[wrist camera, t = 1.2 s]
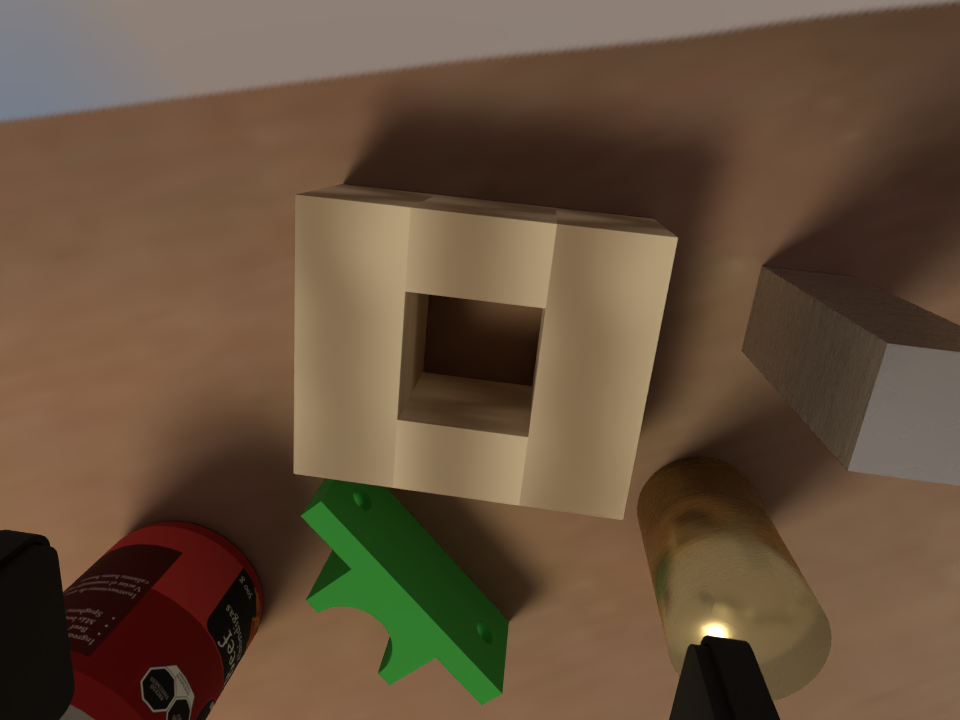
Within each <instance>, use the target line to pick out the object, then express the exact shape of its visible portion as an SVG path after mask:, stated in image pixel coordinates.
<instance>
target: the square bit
mask: <svg viewBox="0 0 960 720" xmlns="http://www.w3.org/2000/svg"><path fill="white" fill-rule="evenodd" d="M742 352H743V353H744V354H745V355H746V356H747V358H748V359H749V360H750V361H751V362H752V363H753V364H754V365H755V367H756V368H757V369H758V370H759V371H760V372H761V373H762V375H763V376H764V377H765V378H766V379H767V380H768V381H769V382H770V384H771V385H772V386H773V387H774V388H775V389H776V390H777V391H778V393H779V394H780V395H781V396H782V397H783V398H784V399H785V401H786V402H787V403H788V404H789V405H790V406H791V407H792V408H793V410H794V411H795V412H796V413H797V414H798V415H799V416H800V418H801V419H802V420H803V421H804V422H805V423H806V424H807V425H808V427H809V428H810V429H811V430H812V431H813V432H814V433H815V434H816V436H817V437H818V438H819V439H820V440H821V441H822V442H823V444H824V445H825V446H826V447H827V448H828V449H829V450H830V451H831V453H832V454H833V455H834V456H835V457H836V458H837V459H838V460H839V462H840V463H841V464H842V465H843V466H844V467H845V468H846V470H847V471H853V472H861V473H868V474H875V475H883V476H890V477H898V478H905V479H913V480H920V481H928V482H935V483H943V484H950V485H958V486H960V325H958V324H956V323H953V322H951V321H949V320H947V319H945V318H943V317H940V316H938V315H936V314H934V313H932V312H930V311H927V310H925V309H923V308H921V307H919V306H917V305H914V304H912V303H910V302H908V301H906V300H904V299H901V298H899V297H897V296H895V295H893V294H891V293H888V292H886V291H884V290H882V289H880V288H878V287H876V286H873V285H871V284H869V283H867V282H865V281H863V280H860V279H858V278H856V277H853V276H845V275H836V274H827V273H819V272H810V271H801V270H792V269H784V268H775V267H766V266H762V268H761V272H760V276H759V280H758V284H757V288H756V293H755V297H754V301H753V305H752V309H751V313H750V318H749V322H748V326H747V330H746V334H745V338H744V342H743V347H742Z"/></svg>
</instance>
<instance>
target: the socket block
mask: <svg viewBox="0 0 960 720" xmlns="http://www.w3.org/2000/svg"><path fill="white" fill-rule="evenodd" d="M677 241H678V237H677V236H675V235H674V234H673V233H672V232H670V231H669V230H668V229H666V228H665V227H664V226H663V225H661V224H660V223H659V222H658V221H656V220H655V219H652V218H643V217H634V216H625V215H616V214H607V213H598V212H589V211H580V210H571V209H562V208H553V207H544V206H535V205H526V204H517V203H508V202H499V201H490V200H481V199H472V198H463V197H454V196H445V195H436V194H427V193H418V192H409V191H400V190H391V189H382V188H373V187H364V186H355V185H346V184H341V185H336V186H332V187H327V188H323V189H318V190H314V191H309V192H305V193H300V194H296V211H295V352H294V474H299V475H306V476H313V477H320V478H327V479H334V480H341V481H348V482H356V483H363V484H370V485H377V486H384V487H391V488H398V489H405V490H413V491H420V492H427V493H434V494H441V495H448V496H455V497H462V498H469V499H477V500H484V501H491V502H498V503H505V504H512V505H519V506H526V507H534V508H541V509H548V510H555V511H562V512H569V513H576V514H583V515H591V516H598V517H605V518H612V519H619V520H623V517H624V512H625V506H626V501H627V496H628V491H629V486H630V481H631V476H632V471H633V466H634V460H635V455H636V450H637V445H638V440H639V435H640V430H641V425H642V420H643V414H644V409H645V404H646V399H647V394H648V389H649V384H650V379H651V374H652V368H653V363H654V358H655V353H656V348H657V343H658V338H659V333H660V328H661V322H662V317H663V312H664V307H665V302H666V297H667V292H668V287H669V282H670V276H671V271H672V266H673V261H674V256H675V251H676V246H677ZM429 294H430V295H438V296H446V297H455V298H463V299H471V300H479V301H488V302H496V303H504V304H513V305H521V306H529V307H537V308H543V309H542V316H541V324H540V331H539V339H538V346H537V354H536V361H535V369H534V376H533V383H532V386H528V385H520V384H512V383H504V382H497V381H489V380H481V379H473V378H466V377H458V376H450V375H442V374H435V373H427V372H423V369H424V355H425V342H426V329H427V315H428V302H429Z"/></svg>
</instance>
